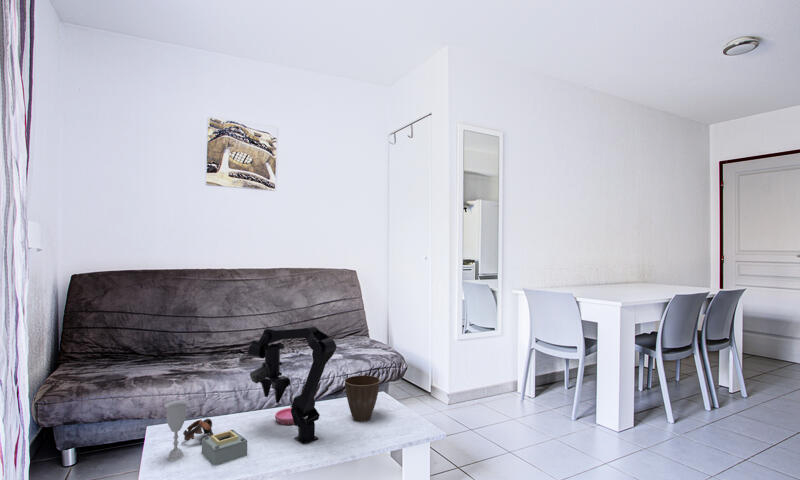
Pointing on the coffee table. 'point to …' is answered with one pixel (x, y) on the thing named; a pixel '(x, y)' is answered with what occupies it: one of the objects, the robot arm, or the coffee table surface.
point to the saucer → (284, 416)
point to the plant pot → (362, 395)
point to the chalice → (176, 424)
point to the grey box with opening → (224, 447)
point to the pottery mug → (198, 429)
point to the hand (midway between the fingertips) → (271, 399)
